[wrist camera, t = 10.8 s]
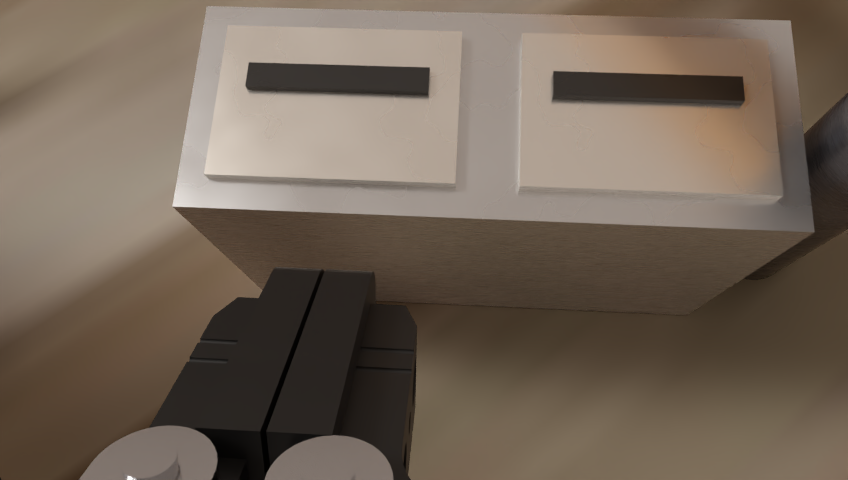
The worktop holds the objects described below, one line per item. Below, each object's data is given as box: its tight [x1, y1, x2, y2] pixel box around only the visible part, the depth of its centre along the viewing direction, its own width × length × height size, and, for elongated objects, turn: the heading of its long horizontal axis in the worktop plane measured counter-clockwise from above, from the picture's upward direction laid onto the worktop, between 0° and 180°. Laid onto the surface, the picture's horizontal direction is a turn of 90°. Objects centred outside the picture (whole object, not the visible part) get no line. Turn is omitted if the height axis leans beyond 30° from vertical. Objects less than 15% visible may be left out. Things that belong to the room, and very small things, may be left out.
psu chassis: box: [173, 6, 848, 315], centre depth 22 cm, size 20×6×12 cm, turn 87°
